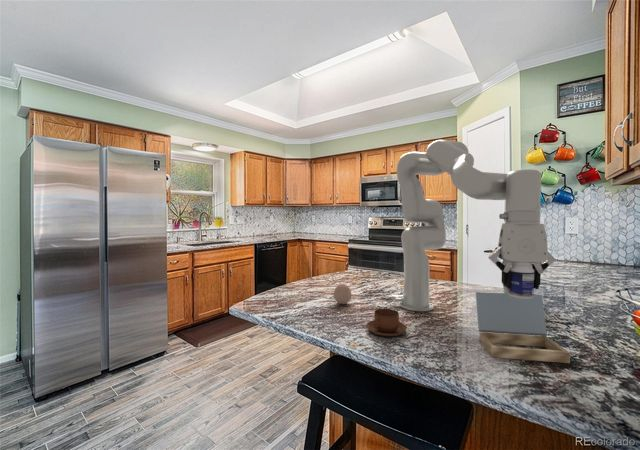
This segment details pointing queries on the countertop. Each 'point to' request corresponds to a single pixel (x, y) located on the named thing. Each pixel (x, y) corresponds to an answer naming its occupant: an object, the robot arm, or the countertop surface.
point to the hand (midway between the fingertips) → (520, 286)
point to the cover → (510, 314)
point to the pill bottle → (521, 281)
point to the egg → (342, 294)
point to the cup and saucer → (386, 323)
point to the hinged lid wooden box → (551, 355)
